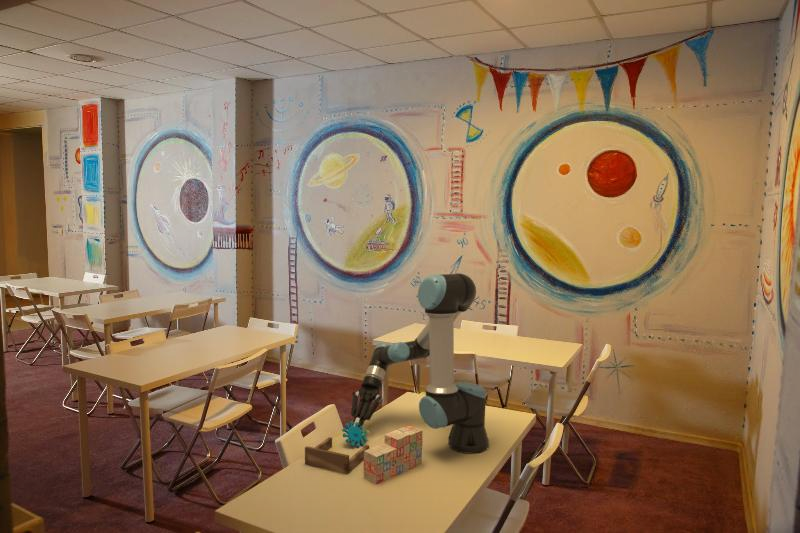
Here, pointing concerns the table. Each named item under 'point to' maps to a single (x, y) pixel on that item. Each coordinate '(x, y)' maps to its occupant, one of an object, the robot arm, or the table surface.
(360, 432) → the gear
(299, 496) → the table surface
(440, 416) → the robot arm
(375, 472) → the stack of blocks
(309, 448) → the wooden u-shaped enclosure
